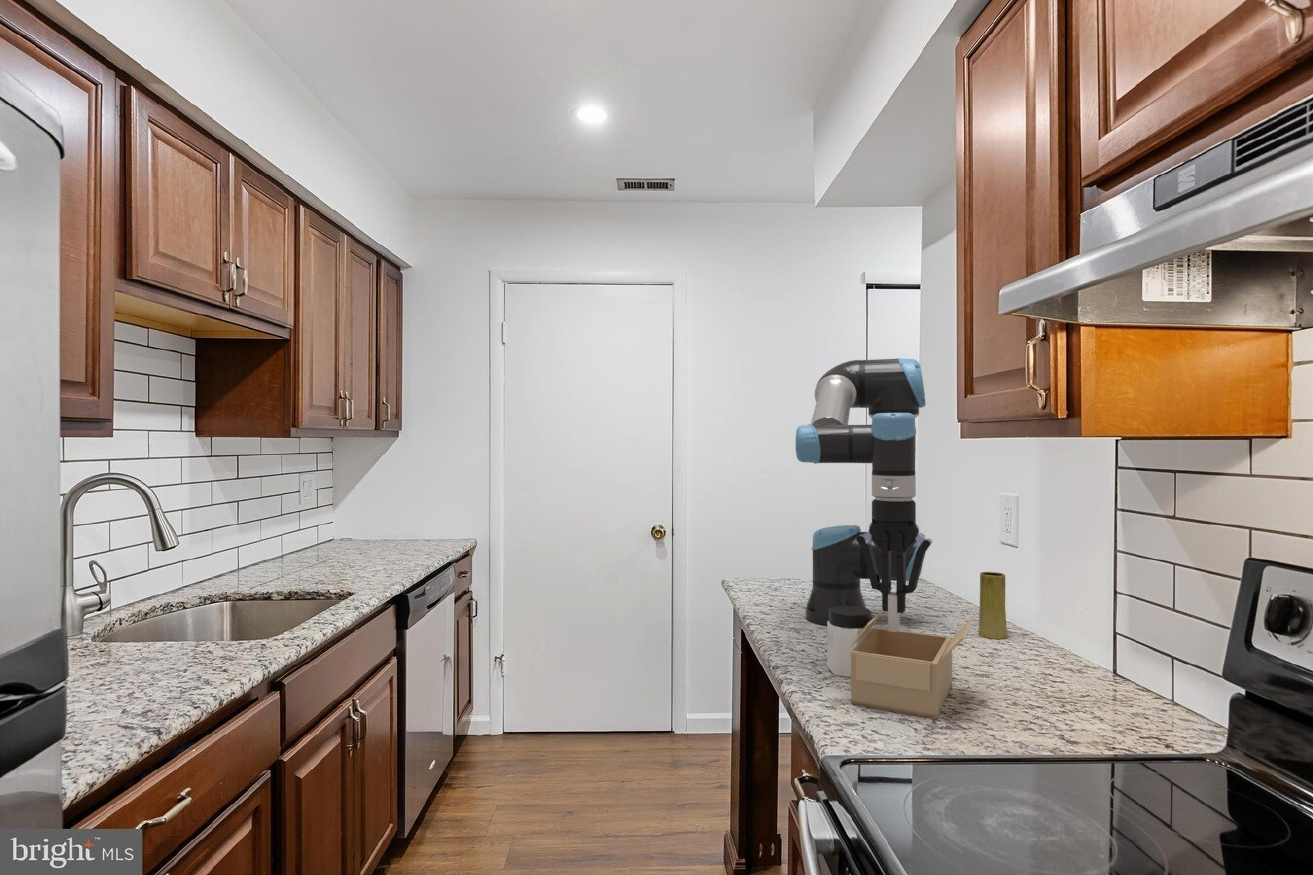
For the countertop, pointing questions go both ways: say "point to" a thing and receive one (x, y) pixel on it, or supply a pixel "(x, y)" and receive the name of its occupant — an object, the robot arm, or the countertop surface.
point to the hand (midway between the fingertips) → (893, 629)
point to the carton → (901, 672)
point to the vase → (992, 606)
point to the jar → (844, 636)
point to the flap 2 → (958, 637)
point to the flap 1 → (868, 626)
